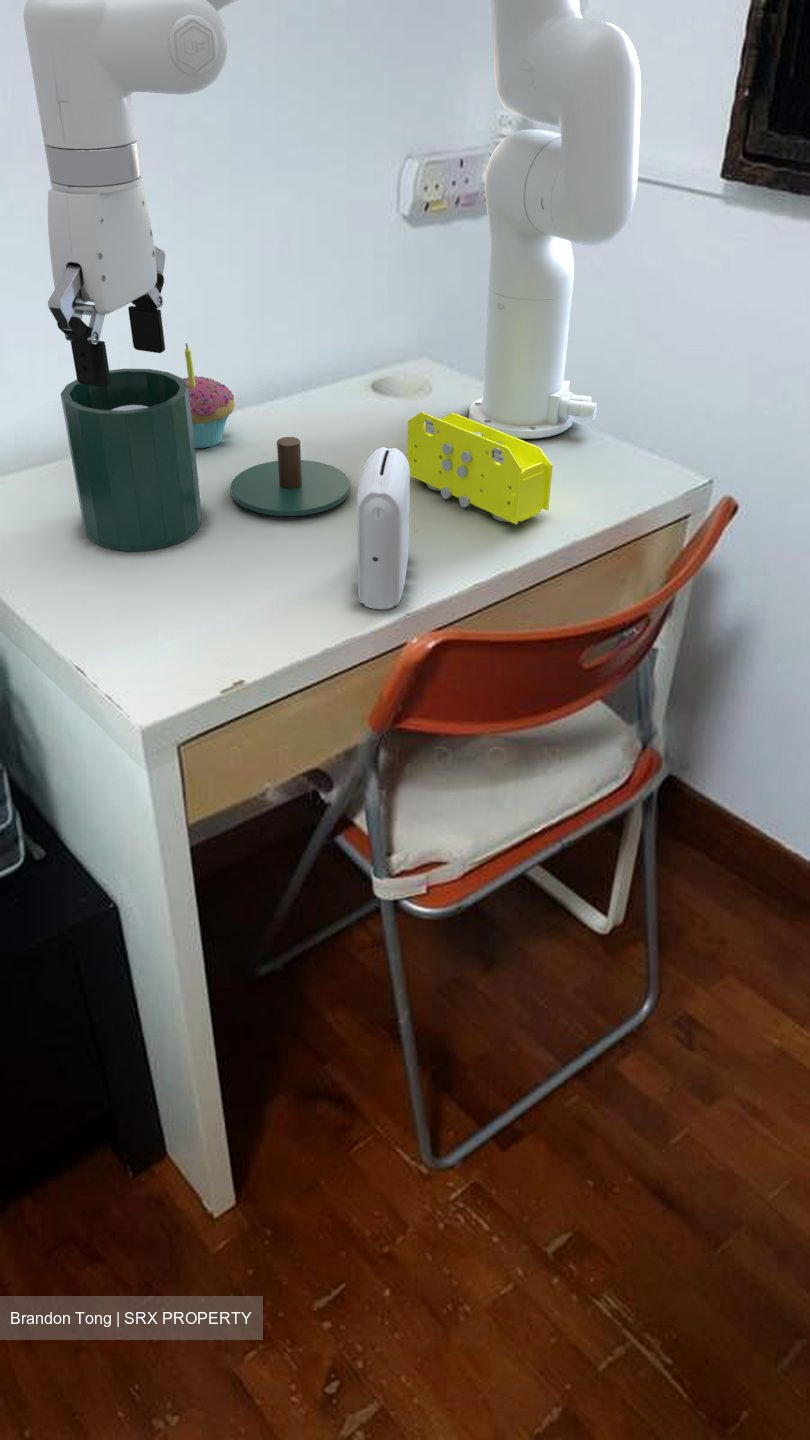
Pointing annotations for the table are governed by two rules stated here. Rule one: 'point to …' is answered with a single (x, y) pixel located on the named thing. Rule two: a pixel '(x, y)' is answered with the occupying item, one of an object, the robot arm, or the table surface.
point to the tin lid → (290, 484)
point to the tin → (134, 459)
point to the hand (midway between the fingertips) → (122, 366)
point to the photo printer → (383, 528)
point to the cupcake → (207, 406)
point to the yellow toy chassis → (479, 466)
